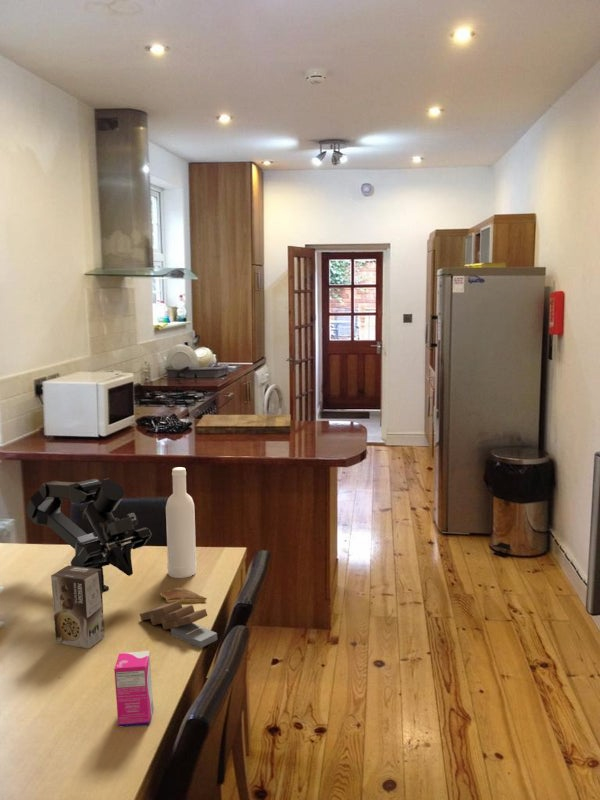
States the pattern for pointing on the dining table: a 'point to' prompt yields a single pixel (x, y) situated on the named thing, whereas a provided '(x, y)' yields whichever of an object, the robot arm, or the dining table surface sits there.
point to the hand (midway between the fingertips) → (130, 574)
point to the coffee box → (78, 606)
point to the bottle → (180, 528)
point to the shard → (182, 596)
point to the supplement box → (133, 688)
